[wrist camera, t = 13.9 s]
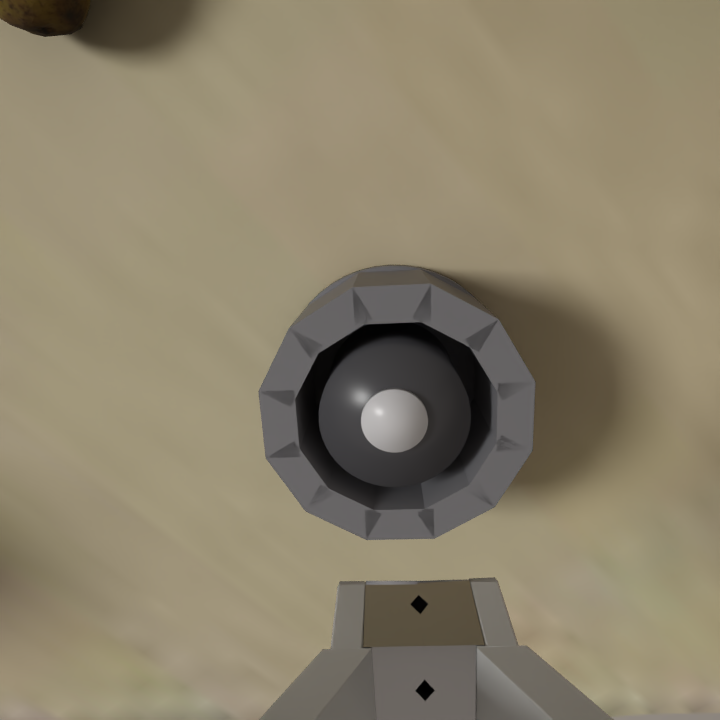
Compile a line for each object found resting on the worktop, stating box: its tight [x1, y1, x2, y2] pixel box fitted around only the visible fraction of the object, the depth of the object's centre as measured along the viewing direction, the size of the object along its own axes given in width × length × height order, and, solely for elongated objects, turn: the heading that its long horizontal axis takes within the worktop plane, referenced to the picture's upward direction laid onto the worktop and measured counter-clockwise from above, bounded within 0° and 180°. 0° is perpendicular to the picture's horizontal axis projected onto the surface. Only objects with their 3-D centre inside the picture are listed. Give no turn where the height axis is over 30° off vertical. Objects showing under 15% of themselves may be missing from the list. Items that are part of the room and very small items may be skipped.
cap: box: [319, 322, 471, 487], centre depth 23 cm, size 6×6×5 cm
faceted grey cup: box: [259, 265, 535, 540], centre depth 23 cm, size 11×11×6 cm
